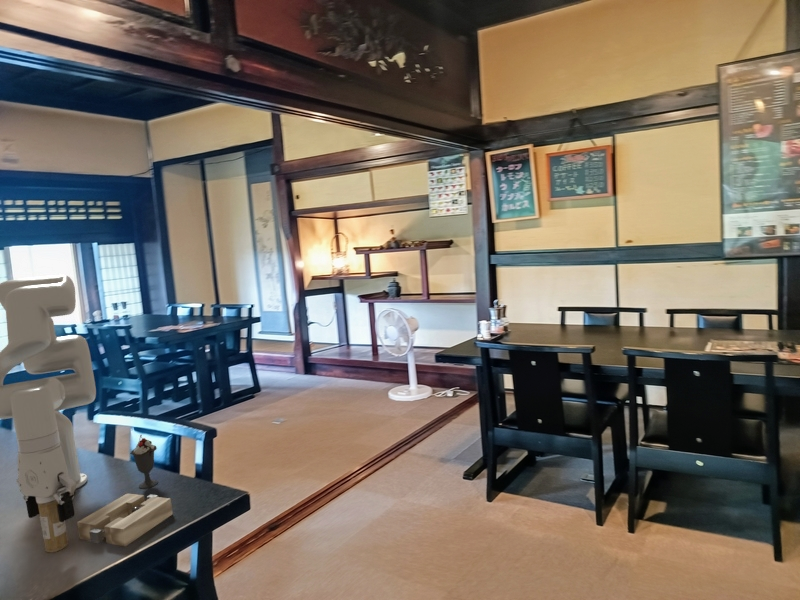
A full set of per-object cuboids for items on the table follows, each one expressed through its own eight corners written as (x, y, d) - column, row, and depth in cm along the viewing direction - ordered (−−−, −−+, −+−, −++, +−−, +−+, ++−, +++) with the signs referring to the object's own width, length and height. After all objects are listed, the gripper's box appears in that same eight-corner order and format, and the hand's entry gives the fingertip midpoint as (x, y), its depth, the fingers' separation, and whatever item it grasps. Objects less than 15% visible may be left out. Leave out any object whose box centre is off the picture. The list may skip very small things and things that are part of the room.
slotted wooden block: (79, 538, 123) (77, 522, 123) (129, 508, 136) (127, 493, 136) (125, 546, 118) (122, 529, 118) (172, 514, 131) (170, 498, 131)
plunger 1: (90, 541, 120) (89, 531, 119) (116, 525, 126) (115, 516, 126) (98, 543, 119) (97, 532, 119) (124, 526, 125) (122, 517, 125)
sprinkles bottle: (69, 548, 120) (59, 490, 118) (45, 556, 117) (34, 497, 116) (68, 539, 124) (59, 483, 122) (45, 547, 121) (35, 490, 120)
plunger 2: (129, 517, 130) (128, 507, 129) (151, 503, 136) (150, 494, 136) (137, 518, 129) (135, 508, 128) (159, 504, 135) (157, 495, 135)
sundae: (144, 492, 145) (136, 438, 143) (130, 487, 149) (122, 435, 147) (166, 481, 151) (159, 430, 149) (152, 477, 154) (144, 427, 153)
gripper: (-6, 447, 117) (8, 521, 119) (50, 451, 111) (63, 529, 113) (29, 434, 124) (41, 505, 126) (83, 437, 118) (95, 512, 120)
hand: (51, 516), depth 119 cm, fingers open, 9 cm apart
